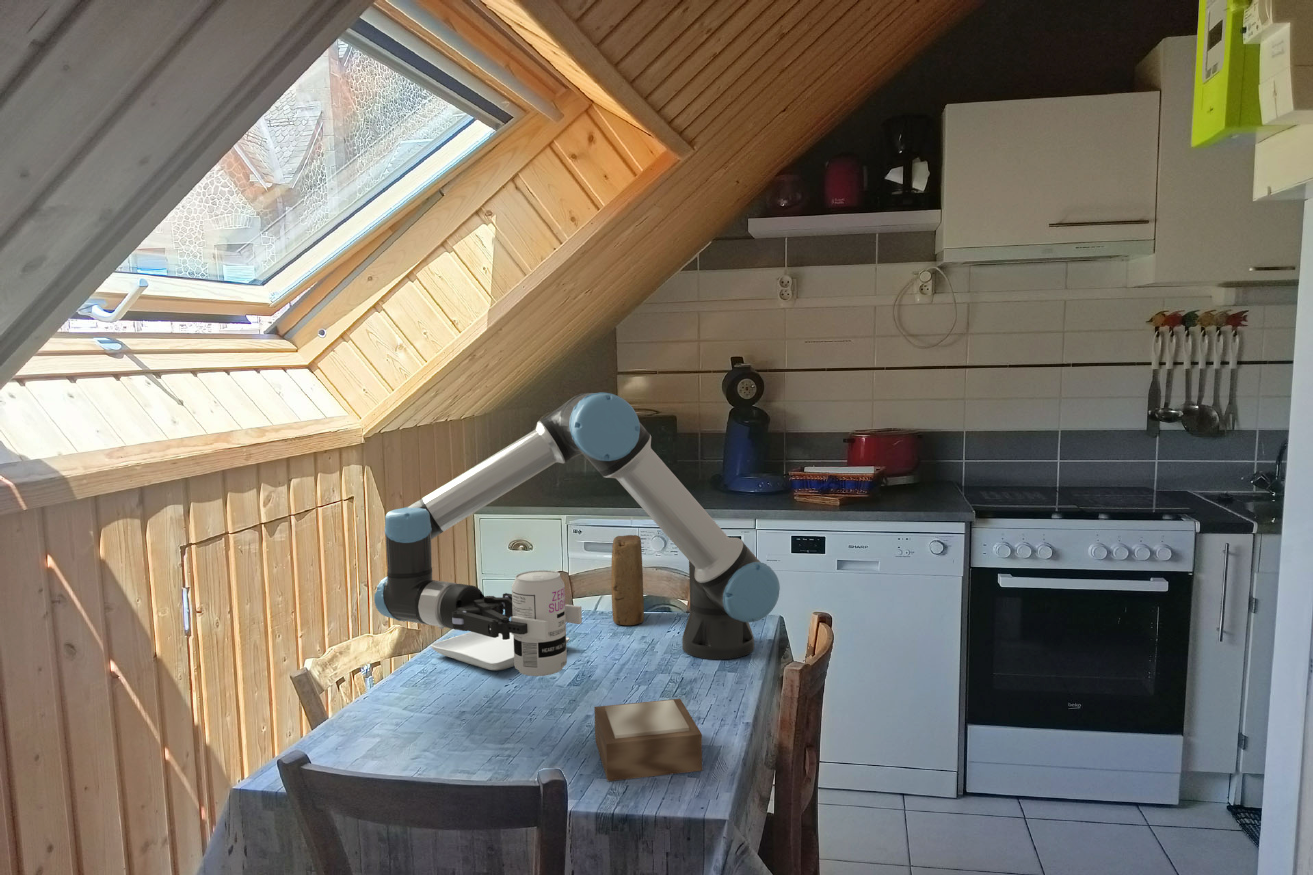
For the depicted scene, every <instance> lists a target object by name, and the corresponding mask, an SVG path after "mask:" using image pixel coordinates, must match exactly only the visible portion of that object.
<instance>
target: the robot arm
mask: <svg viewBox="0 0 1313 875" xmlns="http://www.w3.org/2000/svg"><path fill="white" fill-rule="evenodd" d="M651 444H652V436H651V434H650V433H649V432H648V431H647V429H646V428H645V427H644V425H642V423H641V422H640V420H639V417H638V414H637V413H636V411H635V409H634V407H632V405H631V404H630V403H629V402H628V401H626V400H625V399H624V398H623V397H621V396H619V395H616V394H614V393H611V392H601V391H599V392H583V393H579V394H577V395H575V396H573V397H572V398H570V399H569V400H567V401H566V402H564V403H563V404H561V405H560V406H559V407H558V408H557V409H555V410H553V412H550V413H549V414H548V415H546V416H545V417H543V418H541V419H540V420H538V421H537V423H536V427H535V429H534V430H532V431H530V432H529V433H527V434H525V435H524V436H522V437H520V438H519V439H517V440H515V441H514V442H512V443H510V444H509V445H508V446H506V447H504V448H502V449H501V450H499V451H498V452H495V453H494V454H493V455H491V456H489V457H488V458H486V459H484V460H483V461H481V462H479V463H478V464H476V465H475V466H473V467H472V468H469V469H468V470H465V472H463V473H461V474H459V475H458V476H456V477H455V478H453V479H451V480H450V481H449V482H446V483H445V484H443V485H442V486H440V487H438V488H437V489H434V490H433V491H432V492H430V493H429V494H427V495H425V496H423V497H422V498H420V499H419V500H417V501H416V502H414V503H412V504H411V505H409V506H405V507H401V508H396V509H392V510H390V511H388V512H387V513H386V514H385V521H384V522H385V523H384V524H385V526H384V535H385V547H386V548H385V549H386V550H385V551H386V563H387V566H386V567H387V575H386V576H385V577H383V578H382V579H381V580H380V581H379V583H378V584H377V587H376V592H375V593H374V599H373V601H374V605H375V608H376V610H377V611H378V613H379V614H380V615H382V616H384V617H386V618H390V619H394V620H396V621H398V622H408V623H415V624H423V625H427V626H434V627H438V629H439V630H444V629H445V628H447V629H450V630H456V631H460V632H461V631H462V632H475V633H478V634H482V635H485V636H489V637H493V638H496V637H499V633H500V634H502V639H503V640H507V639H510V633H512V634H513V635H519V636H525V637H531V638H537V639H543V640H547V639H549V634H548V621H544V620H538V619H531V618H524V617H518V616H513V609H512V593H507V592H505V593H503V594H502V597H501V596H500V597H499V596H498V597H496V596H495V595H485V594H483V591H482V590H481V589H480V588H478V587H477V586H475V585H471V584H462V583H456V582H450V581H442V580H434V579H433V567H432V566H433V564H432V561H433V560H432V540H433V539H435V538H436V537H438V536H439V535H441V534H443V533H444V532H445V531H447V530H449V529H450V528H452V527H453V526H455V525H456V524H458V523H460V522H461V521H463V520H464V519H467V518H468V517H469V516H471V515H473V514H474V513H476V512H477V511H480V510H481V509H483V508H484V507H486V506H487V505H489V504H491V503H492V502H495V501H496V500H498V498H500V497H501V496H504V495H505V494H507V493H508V492H511V491H512V490H513V489H514V488H517V487H518V486H519V485H522V484H524V483H525V482H526V481H528V480H529V479H531V478H533V477H535V476H536V475H538V474H539V473H541V472H542V471H544V470H546V469H547V468H549V467H551V466H552V465H555V463H560V464H566V463H567V462H568V461H570V460H572V459H574V458H576V457H579V456H580V455H583V456H584V457H585V458H586V459H587V460H588V461H589V462H590V463H591V465H592V466H593V467H594V468H595V469H596V470H597V472H599V474H600V475H601V476H602V477H603V478H609V479H616V480H617V481H618V483H620V485H621V486H622V487H623V488H624V490H626V491H627V493H628V494H629V495H630V496H631V498H633V499H634V500H635V502H636V503H637V504H638V505H639V506H640V507H641V509H643V511H644V512H645V513H646V514H647V515H648V516H649V517H650V518H651V519H652V520H653V522H654V523H655V524H656V525H657V526H658V527H659V528H660V530H661V531H663V533H664V534H665V535H666V536H667V538H668V539H669V540H670V541H671V542H672V543H673V544H674V545H675V547H676V548H678V550H679V551H680V552H681V553H682V554H683V555H684V556H685V558H686V559H687V561H688V576H689V578H688V581H689V585H688V586H689V614H688V618H687V621H686V624H685V626H684V630H683V633H682V639H681V642H682V644H681V645H682V647H681V648H682V650H683V652H684V653H686V654H687V655H690V656H692V657H696V658H700V659H707V660H731V659H737V658H741V657H745V656H747V655H749V654H751V653H752V652H753V651H754V650H755V637H754V633H753V630H752V628H751V624H750V623H754V622H759V621H761V620H762V619H764V618H766V617H767V616H768V615H769V614H770V613H771V612H772V611H773V610H774V608H775V606H776V605H777V602H778V600H779V597H780V590H781V586H780V581H779V578H778V576H777V574H776V572H775V571H774V570H773V568H771V567H770V566H769V565H767V563H764V562H761V561H760V560H759V559H758V558H757V557H756V555H755V554H754V552H752V551H751V550H750V549H749V547H748V546H747V545H746V544H745V542H744V541H743V540H742V539H740V538H739V537H729V536H728V535H727V534H726V533H725V531H724V530H723V529H722V528H721V526H719V525H718V524H717V522H716V521H715V520H714V519H713V518H712V516H710V514H709V513H708V512H707V511H706V509H704V508H703V506H702V505H701V504H700V503H699V502H698V500H696V498H695V497H694V496H693V495H692V493H691V492H690V491H689V490H688V489H687V488H686V487H685V486H684V484H683V483H682V482H681V481H680V480H679V478H677V476H676V475H675V474H674V473H673V472H672V471H671V469H670V468H669V467H668V466H667V465H666V464H665V462H664V461H663V459H661V458H660V457H659V455H657V453H656V452H655V451H654V450H653V449H652V446H651ZM565 616H566V623H570V624H575V625H581V624H582V623H583V620H582V618H583V616H582V606H580V605H575V604H567V603H565ZM490 628H491V630H490Z"/></svg>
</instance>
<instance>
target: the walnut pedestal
mask: <svg viewBox="0 0 1313 875" xmlns="http://www.w3.org/2000/svg"><path fill="white" fill-rule="evenodd" d="M593 708H594V736H595V737H594V738H595V739H594V740H595V744H596V748H597V751H598V755H599V758H600V762H601V765H602V768H603V771H604V774H605V777H606V780H607V782H614V781H621V780H622V781H623V780H624V781H625V780H630V779H633V780H634V779H638V778H639V779H641V778H649V777H659V776H666V775H667V776H668V775H676V774H683V773H693V772H694V773H695V772H701V771H703V735H702V731H701V730H700V729H699V727H698V725H697V724H696V722H695V721H694V719H693V717H692V716H691V714H690V712H689V710H688V709H687V707H686V706H685V704H684V702H683V701H682V699H681V698H674V699H673V698H671V699H663V700H662V699H661V700H652V701H641V702H632V703H620V704H612V705H611V704H610V705H603V706H602V705H600V706H594V707H593Z"/></svg>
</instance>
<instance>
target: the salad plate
mask: <svg viewBox="0 0 1313 875" xmlns="http://www.w3.org/2000/svg"><path fill="white" fill-rule="evenodd" d="M490 630H491V628H490ZM569 641H570V637H568V636H566V645H567V644H568V642H569ZM430 647H431V649H432V650H433V651H435V652H436V653H437V654H440V655H441V656H444V657H448V658H452V659H453V660H456V661H459V662H462V663H465V664H469V665H471V666H474V667H479V668H481V669H485V670H489V671H495V672H496V671H504V670H507V669H509V668H512V667H515V666H514V639H513V634H512V633H510V639H507V640H503V639H502V634H500V633H499V637H496V638H493V637H489V636H485V635H482V634H478V633H475V632H471V631H468V632H466V633H462V634H460V635H457V636H453V637H450V638H447V639H444V640H440V641H437V642H434V643H432V644H430Z"/></svg>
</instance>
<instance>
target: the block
mask: <svg viewBox="0 0 1313 875" xmlns="http://www.w3.org/2000/svg"><path fill="white" fill-rule="evenodd" d="M611 548H612V549H611V573H610V574H611V576H610V578H611V579H610V580H611V581H610V582H611V611H612V621H613V623H615V624H616V625H619V626H635V625H639V624H641V623H644V620H645V606H644V605H645V603H644V600H645V599H644V598H645V597H644V577H643V574H644V571H643V555H642V553H643V552H642V551H643V550H642V538H641V536H640V535H638V534H637V535H636V534H634V535H632V534H628V535H626V534H625V535H617V536H615V537H614V538H613V541H612V547H611Z"/></svg>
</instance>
